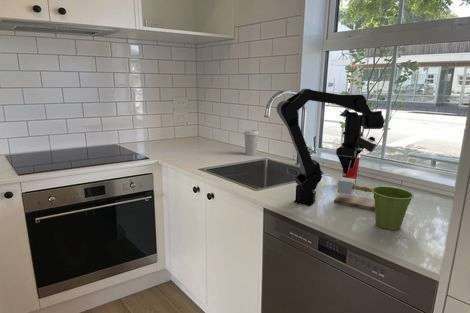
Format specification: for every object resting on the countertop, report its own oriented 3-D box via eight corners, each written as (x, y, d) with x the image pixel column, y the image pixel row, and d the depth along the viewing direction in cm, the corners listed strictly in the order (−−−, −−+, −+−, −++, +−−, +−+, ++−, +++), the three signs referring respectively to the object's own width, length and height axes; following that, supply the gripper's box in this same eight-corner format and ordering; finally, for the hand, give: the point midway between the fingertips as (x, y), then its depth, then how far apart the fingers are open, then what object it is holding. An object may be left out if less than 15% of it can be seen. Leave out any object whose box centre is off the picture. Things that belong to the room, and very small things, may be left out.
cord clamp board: (333, 202, 125) (335, 183, 123) (340, 196, 132) (341, 177, 130) (385, 212, 115) (388, 192, 114) (389, 205, 123) (391, 185, 121)
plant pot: (396, 237, 97) (401, 201, 94) (360, 223, 106) (364, 190, 104) (416, 227, 104) (421, 193, 101) (381, 215, 113) (384, 183, 111)
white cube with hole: (337, 192, 125) (338, 180, 124) (340, 189, 129) (341, 177, 128) (351, 194, 123) (352, 182, 122) (354, 191, 127) (355, 179, 126)
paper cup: (343, 179, 154) (346, 150, 151) (360, 183, 150) (363, 152, 146) (337, 183, 148) (339, 153, 145) (354, 187, 144) (357, 155, 141)
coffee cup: (258, 156, 203) (259, 131, 200) (243, 155, 203) (243, 131, 200) (258, 152, 212) (258, 129, 209) (243, 152, 212) (243, 129, 209)
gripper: (371, 134, 109) (366, 180, 112) (380, 128, 125) (376, 168, 128) (337, 131, 115) (333, 174, 118) (349, 125, 130) (346, 164, 134)
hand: (348, 170), depth 124 cm, fingers open, 9 cm apart
